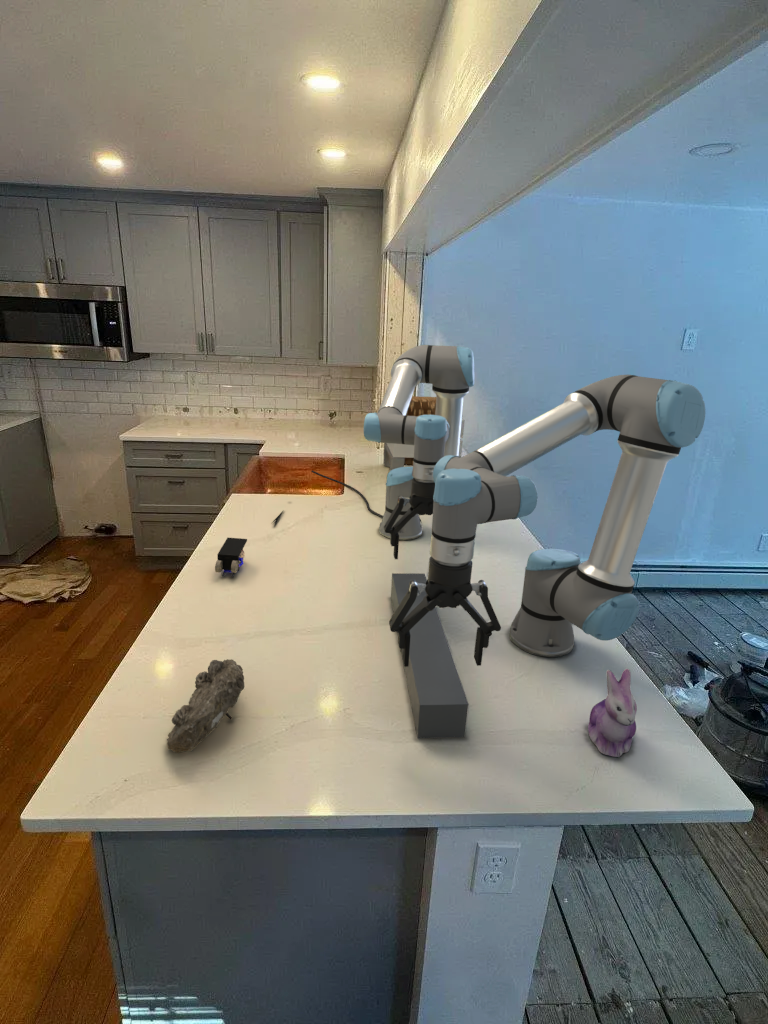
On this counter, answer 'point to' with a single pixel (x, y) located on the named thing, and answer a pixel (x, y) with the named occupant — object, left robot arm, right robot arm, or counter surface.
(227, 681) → the fossil
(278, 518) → the feather
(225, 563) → the black wheeled cart
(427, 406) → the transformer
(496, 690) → the counter surface
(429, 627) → the long dark grey beam
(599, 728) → the figurine
